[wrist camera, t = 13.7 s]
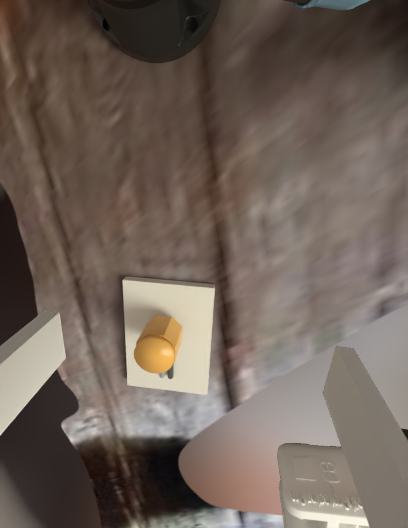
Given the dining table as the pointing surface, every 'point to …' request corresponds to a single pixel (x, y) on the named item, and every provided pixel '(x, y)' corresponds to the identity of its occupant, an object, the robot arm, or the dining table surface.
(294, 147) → the dining table surface
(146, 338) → the domed octagonal knob
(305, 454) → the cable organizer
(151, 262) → the dining table surface
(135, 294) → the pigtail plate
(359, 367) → the robot arm
